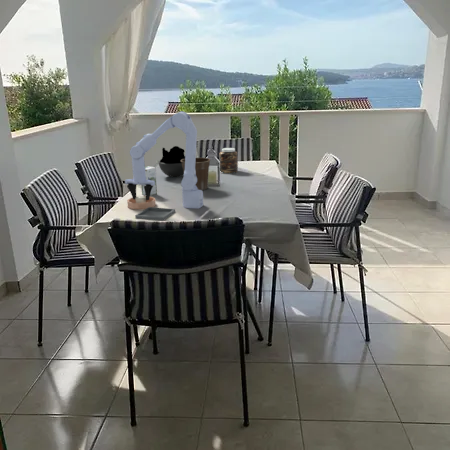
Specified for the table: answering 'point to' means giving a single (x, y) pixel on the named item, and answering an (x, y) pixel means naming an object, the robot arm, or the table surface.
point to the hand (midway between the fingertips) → (141, 199)
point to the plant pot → (200, 172)
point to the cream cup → (140, 199)
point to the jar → (228, 160)
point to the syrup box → (151, 176)
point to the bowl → (149, 203)
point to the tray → (155, 213)
